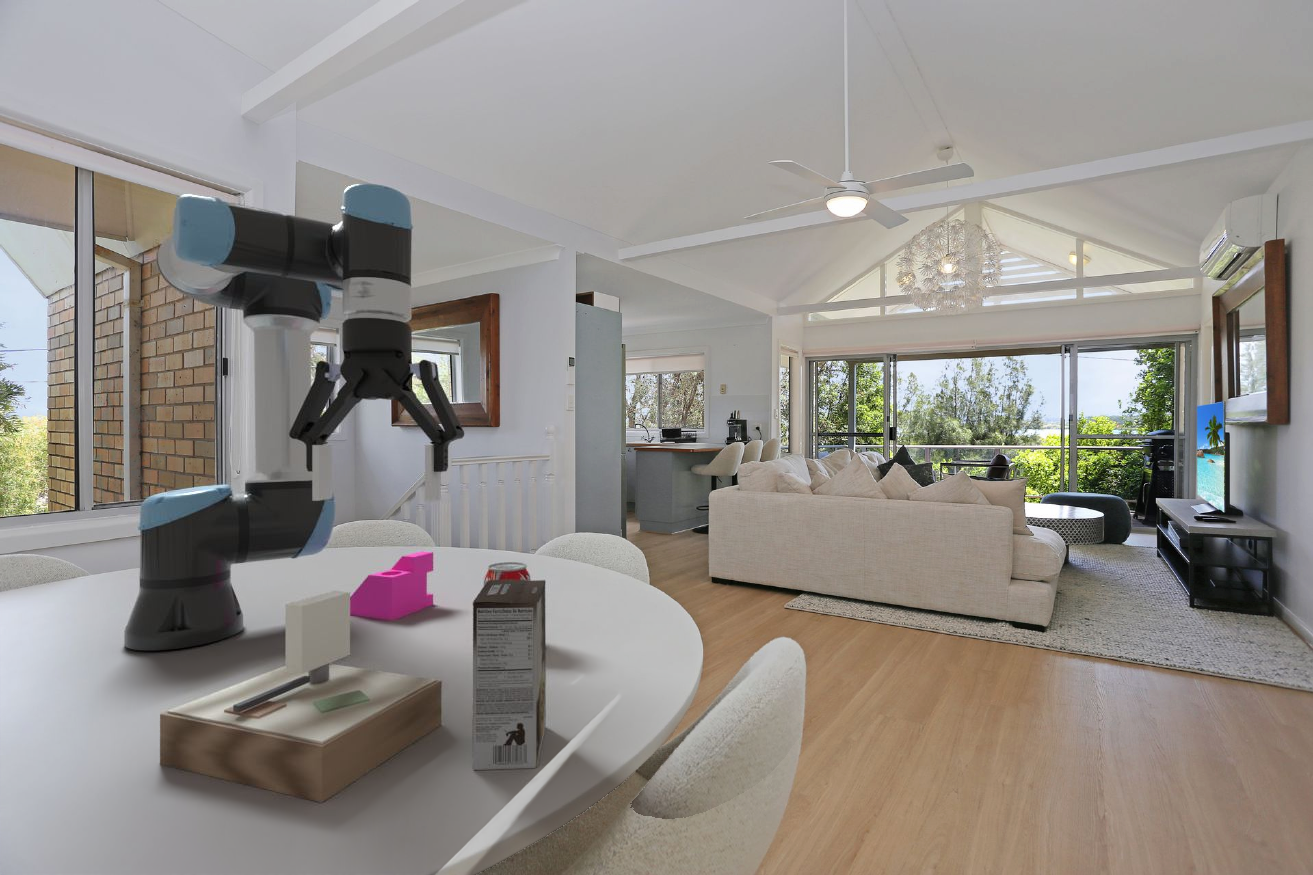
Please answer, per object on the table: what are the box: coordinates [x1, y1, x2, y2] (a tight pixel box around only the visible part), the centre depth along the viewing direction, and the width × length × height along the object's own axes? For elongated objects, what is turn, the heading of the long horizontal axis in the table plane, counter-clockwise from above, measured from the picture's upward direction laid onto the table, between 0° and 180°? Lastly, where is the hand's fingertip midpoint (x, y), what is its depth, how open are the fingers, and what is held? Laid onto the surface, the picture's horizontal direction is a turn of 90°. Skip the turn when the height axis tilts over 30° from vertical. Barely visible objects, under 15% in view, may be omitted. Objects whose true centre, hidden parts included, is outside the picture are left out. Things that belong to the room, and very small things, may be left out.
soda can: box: [483, 561, 532, 587], centre depth 98 cm, size 7×7×12 cm
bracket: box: [350, 551, 434, 621], centre depth 117 cm, size 12×10×10 cm
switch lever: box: [233, 590, 351, 712], centre depth 66 cm, size 2×13×9 cm, turn 161°
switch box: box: [159, 663, 443, 804], centre depth 66 cm, size 20×16×5 cm
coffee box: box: [472, 579, 547, 771], centre depth 65 cm, size 9×6×16 cm
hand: (377, 500), depth 76 cm, fingers open, 13 cm apart
